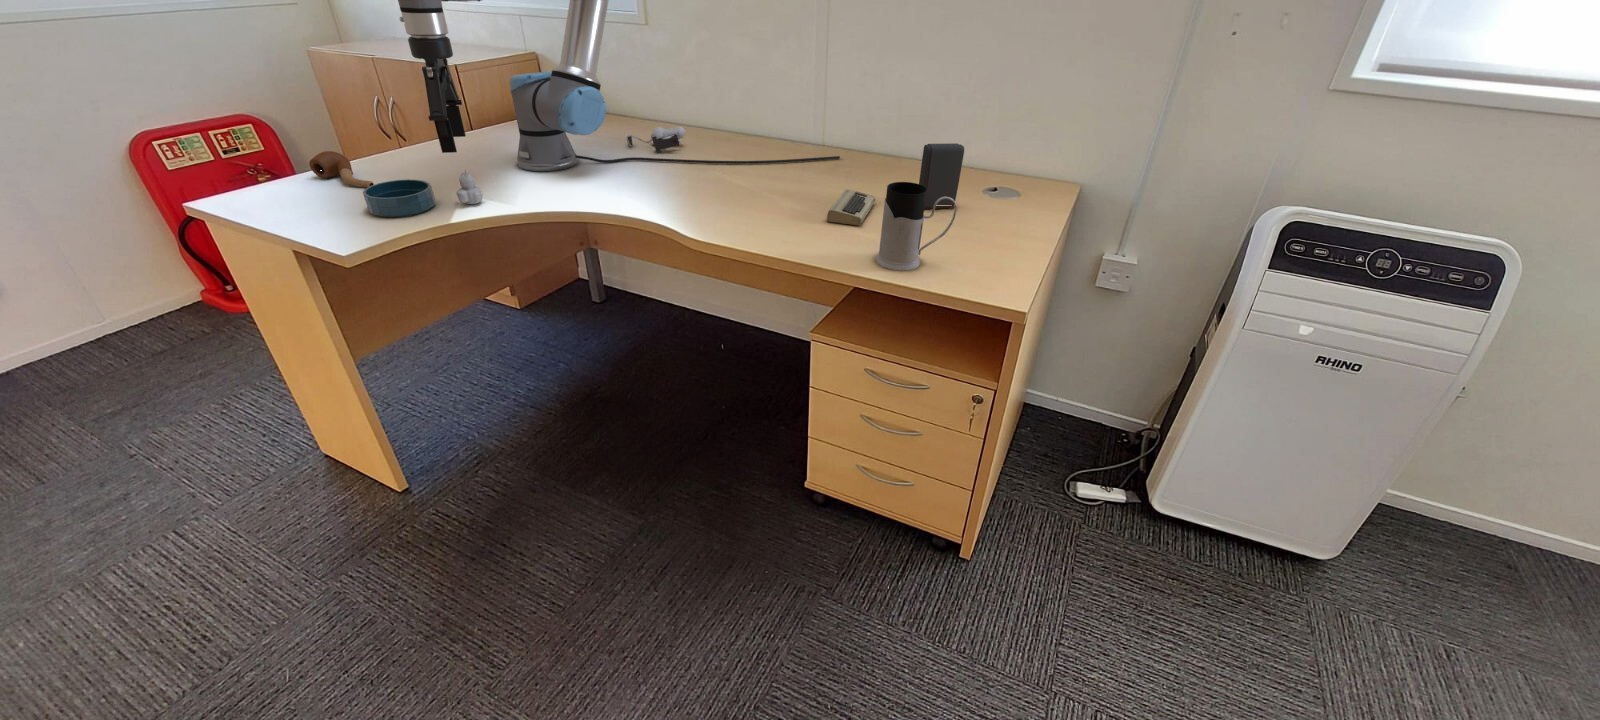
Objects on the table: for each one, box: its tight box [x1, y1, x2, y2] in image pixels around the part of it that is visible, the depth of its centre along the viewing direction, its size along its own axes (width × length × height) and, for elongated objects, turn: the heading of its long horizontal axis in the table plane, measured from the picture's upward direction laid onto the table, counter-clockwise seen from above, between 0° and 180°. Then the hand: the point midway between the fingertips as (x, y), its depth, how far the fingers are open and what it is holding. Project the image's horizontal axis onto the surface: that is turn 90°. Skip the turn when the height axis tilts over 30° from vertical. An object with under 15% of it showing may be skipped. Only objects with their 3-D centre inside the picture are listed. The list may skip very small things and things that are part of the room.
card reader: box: [918, 142, 965, 210], centre depth 153 cm, size 9×4×15 cm, turn 100°
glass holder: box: [875, 181, 958, 272], centre depth 125 cm, size 9×14×15 cm, turn 85°
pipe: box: [308, 150, 375, 188], centre depth 157 cm, size 7×19×6 cm, turn 65°
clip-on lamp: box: [626, 126, 686, 154], centre depth 192 cm, size 12×6×18 cm
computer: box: [826, 189, 876, 227], centre depth 150 cm, size 16×8×3 cm, turn 163°
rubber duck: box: [455, 168, 484, 205], centre depth 145 cm, size 5×7×8 cm
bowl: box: [362, 178, 437, 218], centre depth 143 cm, size 13×13×4 cm
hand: (454, 144), depth 140 cm, fingers open, 13 cm apart
